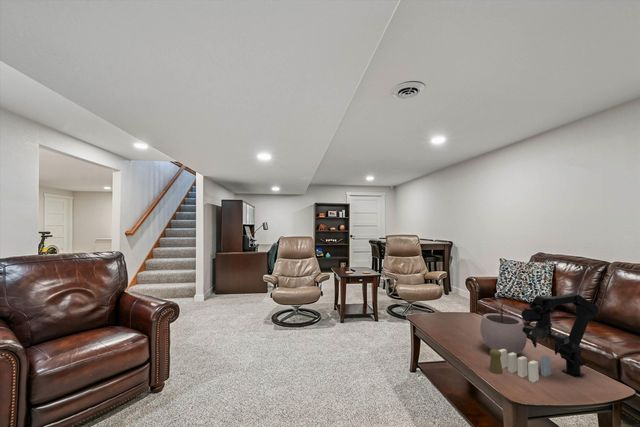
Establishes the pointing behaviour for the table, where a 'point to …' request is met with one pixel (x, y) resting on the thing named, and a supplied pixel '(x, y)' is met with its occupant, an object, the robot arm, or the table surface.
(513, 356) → the domino
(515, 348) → the plant pot
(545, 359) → the domino
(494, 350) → the olive green pawn
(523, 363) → the domino
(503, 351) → the domino
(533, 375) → the domino
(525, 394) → the table surface
